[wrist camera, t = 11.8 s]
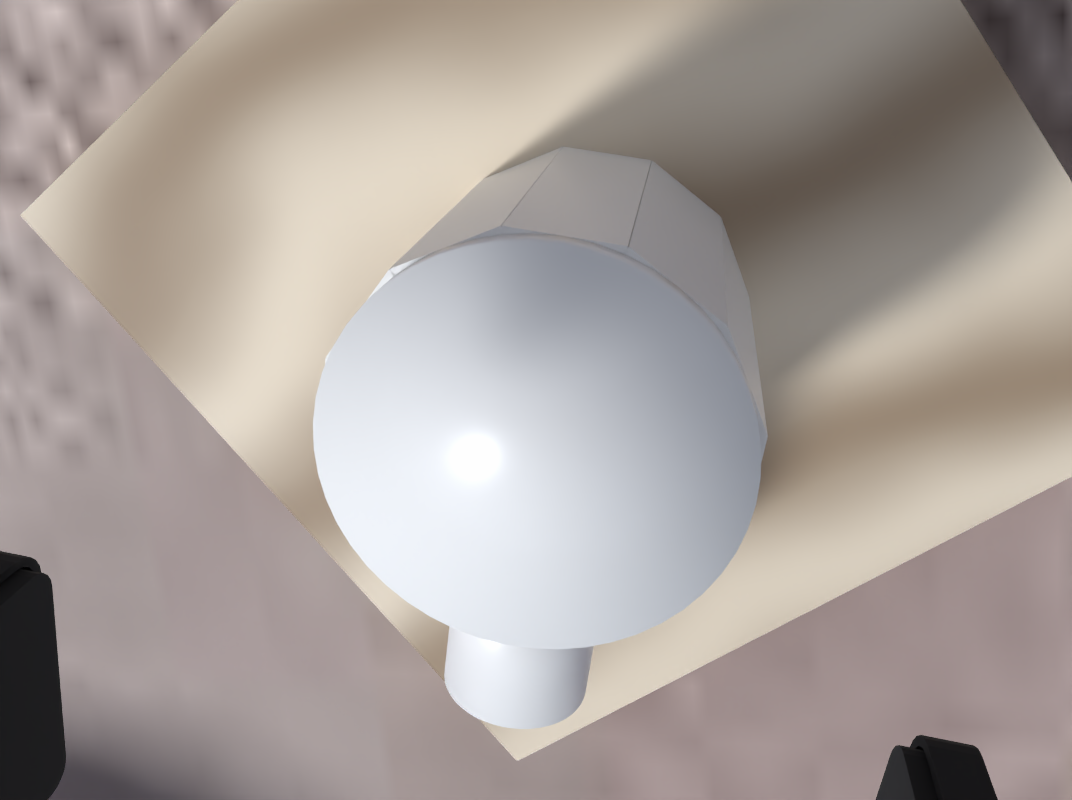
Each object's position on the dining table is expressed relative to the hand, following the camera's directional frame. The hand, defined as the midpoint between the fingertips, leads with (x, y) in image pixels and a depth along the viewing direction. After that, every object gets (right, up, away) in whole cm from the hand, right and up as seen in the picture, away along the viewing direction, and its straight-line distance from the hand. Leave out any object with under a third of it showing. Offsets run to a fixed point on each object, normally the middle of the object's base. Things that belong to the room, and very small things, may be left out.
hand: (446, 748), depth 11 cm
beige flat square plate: (+2, +7, +14) cm, 16 cm away
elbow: (+2, +4, +13) cm, 14 cm away
